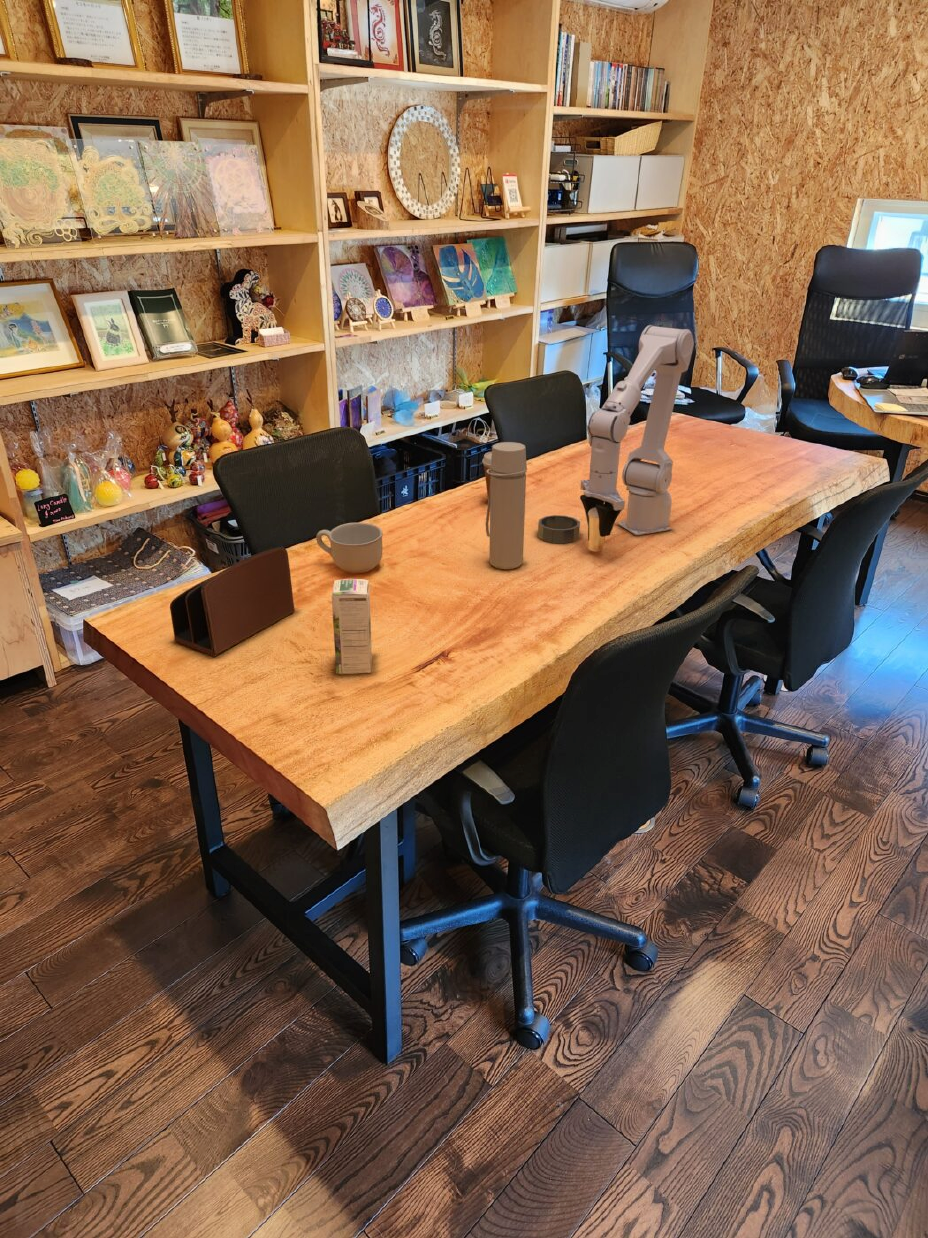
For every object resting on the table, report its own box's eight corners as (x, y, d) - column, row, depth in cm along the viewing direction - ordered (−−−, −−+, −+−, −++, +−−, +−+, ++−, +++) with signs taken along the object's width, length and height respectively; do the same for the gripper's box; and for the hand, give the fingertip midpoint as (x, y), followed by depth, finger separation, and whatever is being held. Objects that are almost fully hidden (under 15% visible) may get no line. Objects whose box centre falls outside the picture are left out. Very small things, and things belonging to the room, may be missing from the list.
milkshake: (609, 554, 175) (614, 510, 170) (584, 551, 176) (588, 508, 171) (610, 545, 179) (615, 502, 174) (585, 543, 180) (589, 500, 175)
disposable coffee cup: (526, 500, 207) (528, 453, 202) (507, 511, 200) (509, 463, 195) (494, 493, 212) (494, 447, 206) (474, 504, 205) (474, 457, 199)
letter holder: (295, 612, 153) (288, 541, 146) (215, 658, 138) (202, 581, 132) (256, 599, 158) (247, 530, 151) (174, 642, 143) (160, 568, 136)
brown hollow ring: (566, 526, 192) (567, 513, 190) (586, 539, 184) (587, 526, 183) (531, 531, 189) (531, 518, 187) (549, 545, 181) (550, 532, 180)
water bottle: (531, 563, 173) (536, 446, 161) (507, 574, 168) (510, 454, 156) (498, 551, 179) (500, 437, 167) (473, 562, 173) (474, 445, 162)
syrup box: (338, 657, 138) (331, 578, 132) (373, 656, 139) (369, 577, 132) (336, 675, 133) (329, 594, 127) (372, 673, 134) (368, 593, 127)
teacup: (393, 562, 173) (391, 527, 169) (366, 582, 164) (364, 545, 161) (337, 551, 178) (334, 516, 175) (308, 570, 170) (304, 534, 166)
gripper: (569, 461, 174) (565, 522, 180) (605, 482, 162) (599, 546, 168) (598, 458, 176) (594, 518, 182) (636, 478, 164) (629, 541, 171)
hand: (598, 531), depth 175 cm, fingers closed on milkshake, 4 cm apart
